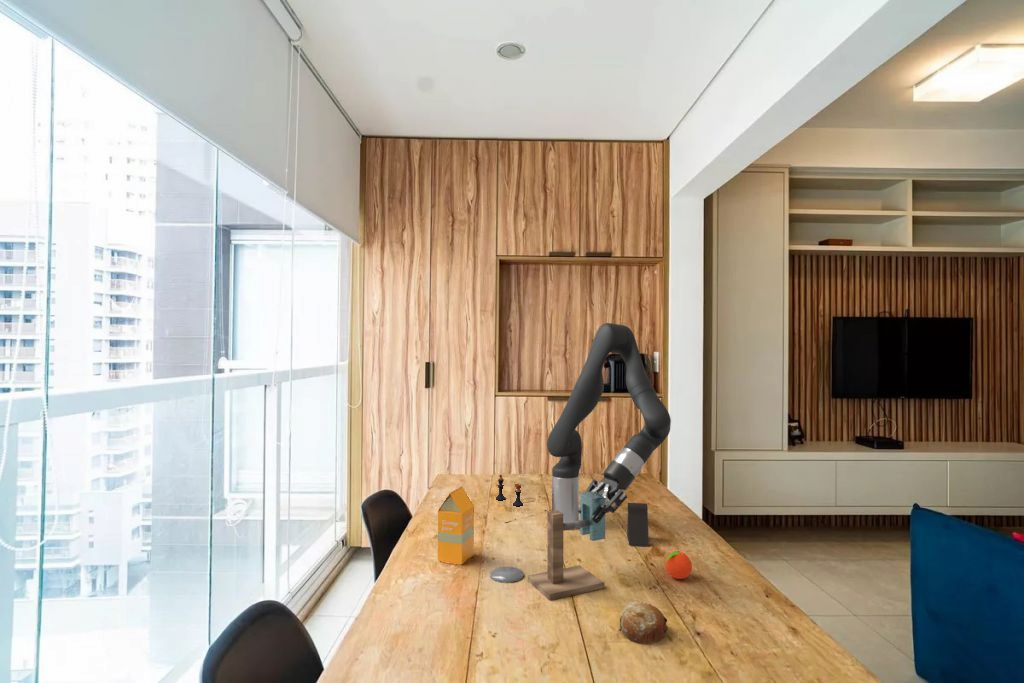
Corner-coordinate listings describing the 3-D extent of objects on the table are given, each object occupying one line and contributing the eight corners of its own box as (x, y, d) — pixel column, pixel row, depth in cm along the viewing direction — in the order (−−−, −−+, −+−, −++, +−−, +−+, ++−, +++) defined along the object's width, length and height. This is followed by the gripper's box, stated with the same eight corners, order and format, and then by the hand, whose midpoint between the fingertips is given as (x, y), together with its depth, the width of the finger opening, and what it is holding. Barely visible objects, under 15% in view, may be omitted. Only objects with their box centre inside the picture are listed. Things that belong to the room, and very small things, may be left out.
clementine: (675, 586, 139) (675, 558, 139) (656, 576, 146) (656, 549, 146) (697, 580, 143) (697, 553, 143) (678, 570, 149) (678, 544, 149)
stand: (527, 581, 142) (527, 508, 143) (579, 570, 149) (579, 501, 149) (549, 600, 132) (549, 521, 132) (604, 588, 138) (604, 513, 139)
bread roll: (621, 637, 122) (606, 605, 122) (661, 615, 123) (646, 584, 122) (635, 662, 112) (619, 627, 112) (678, 638, 113) (662, 604, 113)
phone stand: (648, 547, 167) (648, 508, 167) (629, 546, 168) (628, 507, 168) (645, 537, 176) (645, 500, 176) (627, 536, 177) (626, 499, 177)
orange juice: (474, 554, 161) (474, 486, 162) (461, 565, 153) (462, 494, 153) (450, 551, 164) (450, 484, 164) (437, 561, 155) (437, 492, 156)
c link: (580, 533, 146) (580, 492, 146) (592, 531, 148) (592, 491, 148) (592, 541, 141) (592, 498, 141) (605, 538, 142) (605, 496, 142)
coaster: (485, 572, 148) (485, 570, 148) (515, 566, 152) (515, 564, 152) (498, 585, 140) (498, 582, 140) (529, 579, 144) (529, 576, 144)
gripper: (601, 455, 154) (564, 501, 149) (632, 464, 141) (593, 516, 136) (616, 472, 156) (581, 518, 151) (648, 483, 143) (611, 534, 138)
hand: (587, 517), depth 144 cm, fingers closed on c link, 6 cm apart
